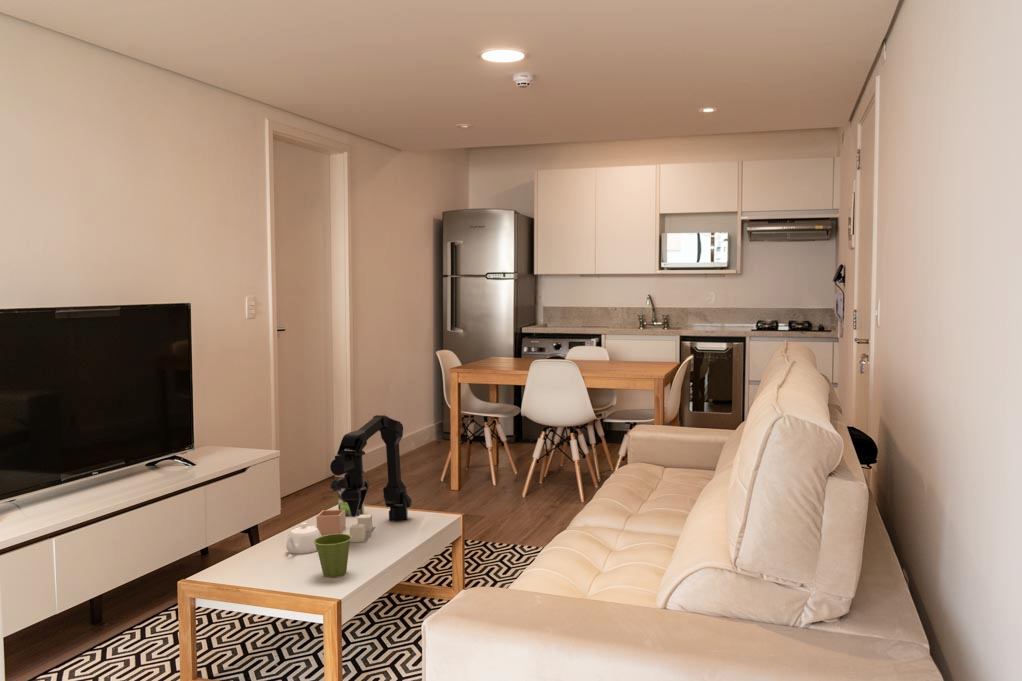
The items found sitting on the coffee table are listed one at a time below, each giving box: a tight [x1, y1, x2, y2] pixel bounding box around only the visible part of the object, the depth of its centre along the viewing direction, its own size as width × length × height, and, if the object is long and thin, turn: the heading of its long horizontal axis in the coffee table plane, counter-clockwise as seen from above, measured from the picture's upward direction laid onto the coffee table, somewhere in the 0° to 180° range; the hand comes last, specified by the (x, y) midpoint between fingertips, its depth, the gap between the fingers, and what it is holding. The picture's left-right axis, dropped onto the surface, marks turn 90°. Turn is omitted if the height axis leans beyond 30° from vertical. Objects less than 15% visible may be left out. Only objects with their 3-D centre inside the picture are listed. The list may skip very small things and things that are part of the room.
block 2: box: [356, 513, 374, 531], centre depth 296 cm, size 4×4×5 cm
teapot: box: [285, 522, 322, 555], centre depth 275 cm, size 20×12×10 cm, turn 168°
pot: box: [316, 509, 347, 536], centre depth 295 cm, size 8×8×8 cm
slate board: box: [350, 526, 377, 544], centre depth 290 cm, size 7×20×1 cm, turn 179°
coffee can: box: [337, 487, 365, 518], centre depth 320 cm, size 10×10×14 cm
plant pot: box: [313, 533, 352, 578], centre depth 251 cm, size 12×12×11 cm
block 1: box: [348, 523, 365, 542], centre depth 283 cm, size 4×4×5 cm
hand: (356, 513), depth 283 cm, fingers open, 9 cm apart
